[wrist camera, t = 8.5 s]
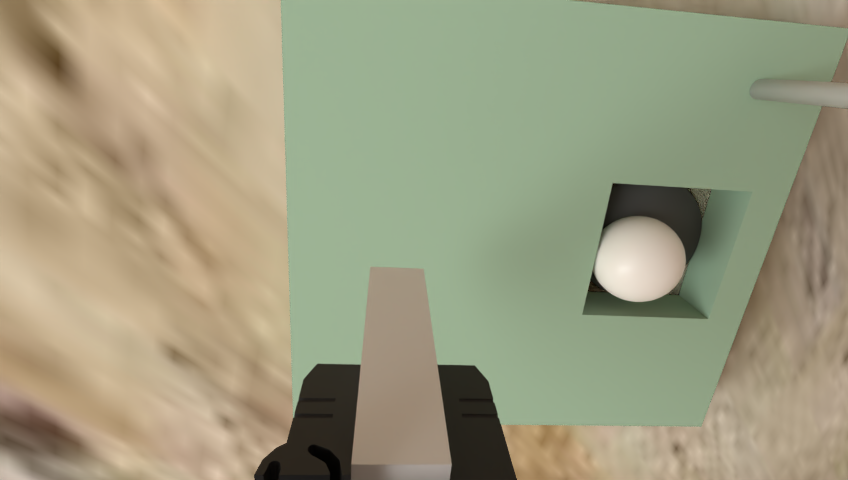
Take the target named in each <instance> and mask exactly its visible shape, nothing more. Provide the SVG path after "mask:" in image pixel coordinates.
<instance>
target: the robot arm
mask: <svg viewBox="0 0 848 480" xmlns="http://www.w3.org/2000/svg"><path fill="white" fill-rule="evenodd" d="M254 478H255V480H517V478H516V475H515V472H514V469H513V465H512V462H511V458H510V455H509V451H508V448H507V444H506V441H505V437H504V434H503V430H502V427H501V423H500V420H499V418H498V413H497V410H496V406H495V403H494V402H493V396H492V392H491V389H490V385H489V382H488V380H487V379H486V378H485V377H484V375H483V374H482V373H481V372H480V371H479V370H478V368H477V367H476V366H475V365H437V358H436V351H435V345H434V338H433V331H432V324H431V317H430V310H429V303H428V296H427V289H426V282H425V275H424V269H417V268H392V267H370V275H369V285H368V296H367V306H366V317H365V327H364V337H363V348H362V358H361V365H359V364H317V365H316V366H315V367H314V368H313V369H312V370H311V371H310V372H309V374H308V375H307V376H306V377H305V378H304V379H303V383H302V387H301V391H300V394H299V400H298V402H297V406H296V410H295V413H294V418H293V421H292V425H291V429H290V432H289V436H288V440H287V443H286V444H284V445H281V446H279V447H277V448H276V449H274V450H273V451H272V452H271V453H270V454H269V455H268V456H267V457H265V458H264V459H263V460H262V462H261V464H260V466H259V467H258V469H257V471H256V473H255V475H254Z"/></svg>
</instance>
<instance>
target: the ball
mask: <svg viewBox="0 0 848 480" xmlns="http://www.w3.org/2000/svg"><path fill="white" fill-rule="evenodd" d="M685 265H686V255H685V250H684V247H683V244H682V242H681V240H680V238H679V237H678V235H677V234H676V233H675V232H674V231H673V230H672V229H671V228H670V227H669V226H668V225H666V224H664V223H663V222H661V221H659V220H657V219H654V218H650V217H646V216H630V217H625V218H621V219H619V220H616V221H614V222H612V223H611V224H609V225H608V226H606V227H605V228H604V229H603V230H602V232H601V236H600V240H599V244H598V249H597V253H596V257H595V262H594V266H593V272H594V275H595V277H596V279H597V280H598V282H599V283H600V284H601V285H602V286H603V287H604V288H605V289H606V290H607V291H608V292H609V293H611V294H612V295H614V296H616V297H618V298H621V299H623V300H627V301H632V302H646V301H652V300H655V299H658V298H660V297H662V296H664V295H666V294H667V293H669V292H670V291H671V290H672V289H673V288H674V287H675V286H676V285H677V284H678V283H679V281H680V279H681V278H682V276H683V273H684V269H685Z"/></svg>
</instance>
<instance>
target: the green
mask: <svg viewBox="0 0 848 480" xmlns="http://www.w3.org/2000/svg"><path fill="white" fill-rule="evenodd" d="M281 21H282V54H283V88H284V122H285V156H286V190H287V224H288V258H289V291H290V325H291V359H292V393H293V418H294V413H295V410H296V406H297V402H298V400H299V394H300V391H301V387H302V383H303V379H304V378H305V377H306V376H307V375H308V374H309V372H310V371H311V370H312V369H313V368H314V367H315V366H316V365H317V364H359V365H361V358H362V348H363V337H364V327H365V317H366V306H367V296H368V285H369V275H370V267H392V268H417V269H424V275H425V282H426V289H427V296H428V303H429V310H430V317H431V324H432V331H433V338H434V345H435V351H436V358H437V365H475V366H476V367H477V368H478V370H479V371H480V372H481V373H482V374H483V375H484V377H485V378H486V379H487V380H488V382H489V385H490V389H491V392H492V396H493V402H494V403H495V406H496V410H497V413H498V418H499V420H500V423H501V425H597V426H699V427H701V426H702V423H703V421H704V418H705V415H706V413H707V410H708V407H709V405H710V402H711V399H712V397H713V394H714V391H715V389H716V386H717V384H718V381H719V378H720V376H721V373H722V370H723V368H724V365H725V362H726V360H727V357H728V354H729V352H730V349H731V346H732V344H733V341H734V338H735V336H736V333H737V331H738V328H739V325H740V323H741V320H742V317H743V315H744V312H745V309H746V307H747V304H748V301H749V299H750V296H751V293H752V291H753V288H754V285H755V283H756V280H757V277H758V275H759V272H760V270H761V267H762V264H763V262H764V259H765V256H766V254H767V251H768V248H769V246H770V243H771V240H772V238H773V235H774V232H775V230H776V227H777V224H778V222H779V219H780V217H781V214H782V211H783V209H784V206H785V203H786V201H787V198H788V195H789V193H790V190H791V187H792V185H793V182H794V179H795V177H796V174H797V171H798V169H799V166H800V164H801V161H802V158H803V156H804V153H805V150H806V148H807V145H808V142H809V140H810V137H811V134H812V132H813V129H814V126H815V124H816V121H817V118H818V116H819V113H820V110H821V108H822V106H825V107H835V108H844V109H848V83H843V82H831V81H832V79H833V76H834V73H835V71H836V68H837V65H838V63H839V60H840V57H841V55H842V52H843V50H844V47H845V44H846V42H847V39H848V28H840V27H830V26H820V25H810V24H800V23H790V22H780V21H771V20H761V19H751V18H741V17H731V16H721V15H711V14H701V13H692V12H682V11H672V10H662V9H652V8H642V7H632V6H622V5H613V4H603V3H593V2H583V1H573V0H281ZM613 183H617V184H615V185H613V186H612V184H613ZM686 188H700V189H712V191H711V194H710V197H709V200H708V203H707V207H706V210H705V213H704V216H703V219H701V213H700V209H699V206H698V204H697V202H696V200H695V198H694V197H693V195H692V194H691V193H690V192H689V191H688V190H687V189H686ZM630 216H646V217H650V218H654V219H657V220H659V221H661V222H663V223H664V224H666V225H668V226H669V227H670V228H671V229H672V230H673V231H674V232H675V233H676V234H677V235H678V237H679V238H680V240H681V242H682V244H683V247H684V250H685V255H686V265H687V263H688V262H689V264H688V267H687V270H686V274H685V277H684V280H683V283H682V286H681V290H680V293H679V295H664V296H662V297H660V298H658V299H655V300H652V301H646V302H632V301H627V300H623V299H621V298H618V297H616V296H614V295H612V294H611V293H609V292H588V287H589V283H590V280H591V281H592V282H593V283H594V284H595V285H597V286H598V287H600V288H602V289H603V290H606V289H605V288H604V287H603V286H602V285H601V284H600V283H599V282H598V280H597V279H596V277H595V275H594V272H593V266H594V262H595V257H596V253H597V249H598V244H599V240H600V236H601V232H602V230H603V229H604V228H605V227H606V226H608V225H609V224H611V223H612V222H614V221H616V220H619V219H621V218H625V217H630ZM689 260H690V261H689ZM686 265H685V266H686ZM606 291H607V290H606Z"/></svg>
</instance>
